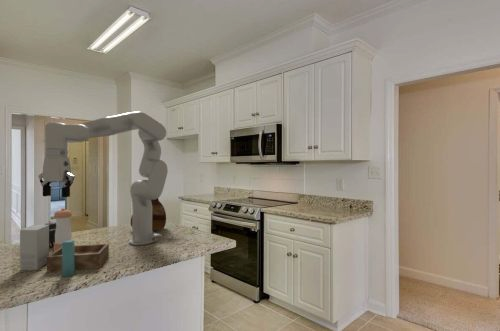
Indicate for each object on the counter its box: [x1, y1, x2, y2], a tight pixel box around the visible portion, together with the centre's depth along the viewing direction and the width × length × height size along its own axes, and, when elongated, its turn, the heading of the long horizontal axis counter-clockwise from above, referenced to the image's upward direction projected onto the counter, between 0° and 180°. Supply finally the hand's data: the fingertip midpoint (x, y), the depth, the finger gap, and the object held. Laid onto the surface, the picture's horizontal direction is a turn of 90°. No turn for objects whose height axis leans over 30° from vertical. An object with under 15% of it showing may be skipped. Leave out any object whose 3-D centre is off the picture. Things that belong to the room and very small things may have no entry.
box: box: [46, 243, 110, 273], centre depth 118 cm, size 18×14×6 cm
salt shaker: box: [53, 208, 73, 252], centre depth 136 cm, size 7×7×19 cm
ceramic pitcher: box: [130, 198, 167, 232], centre depth 175 cm, size 20×20×30 cm
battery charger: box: [43, 221, 56, 249], centre depth 141 cm, size 7×4×11 cm, turn 140°
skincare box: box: [19, 224, 50, 271], centre depth 114 cm, size 8×7×16 cm
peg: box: [61, 239, 76, 278], centre depth 106 cm, size 4×4×12 cm
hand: (56, 196), depth 118 cm, fingers open, 9 cm apart
